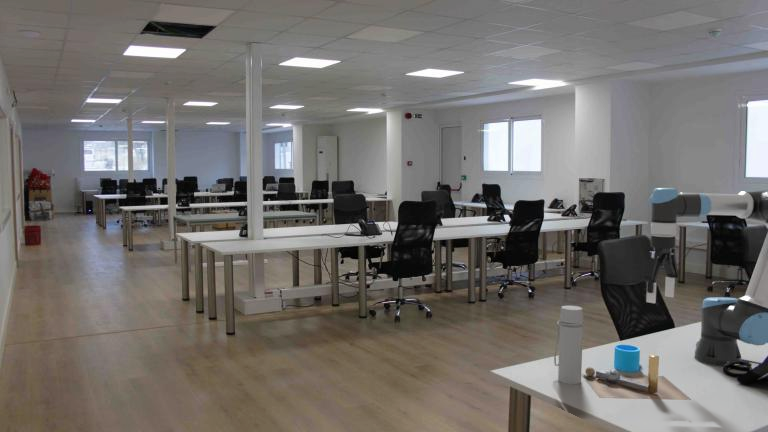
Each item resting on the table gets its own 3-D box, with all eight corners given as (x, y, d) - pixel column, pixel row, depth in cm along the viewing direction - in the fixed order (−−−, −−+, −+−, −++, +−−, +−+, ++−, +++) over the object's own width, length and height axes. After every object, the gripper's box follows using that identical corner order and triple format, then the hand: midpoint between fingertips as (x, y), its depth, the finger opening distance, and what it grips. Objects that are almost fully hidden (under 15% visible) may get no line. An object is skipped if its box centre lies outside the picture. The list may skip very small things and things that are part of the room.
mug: (631, 376, 215) (632, 352, 214) (609, 370, 221) (610, 347, 220) (649, 369, 222) (650, 346, 222) (627, 363, 229) (628, 341, 228)
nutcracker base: (663, 379, 212) (664, 366, 211) (691, 403, 191) (691, 388, 190) (581, 377, 213) (581, 364, 213) (599, 401, 192) (600, 386, 192)
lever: (594, 378, 207) (595, 344, 206) (601, 375, 210) (602, 342, 209) (653, 395, 193) (655, 358, 192) (660, 391, 196) (661, 355, 195)
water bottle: (585, 383, 207) (588, 307, 205) (573, 389, 202) (576, 311, 200) (560, 376, 214) (562, 303, 212) (547, 382, 208) (550, 306, 206)
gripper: (668, 231, 219) (665, 292, 221) (633, 237, 203) (631, 303, 204) (690, 233, 214) (687, 296, 216) (657, 239, 197) (654, 307, 199)
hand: (660, 299), depth 210 cm, fingers open, 13 cm apart
